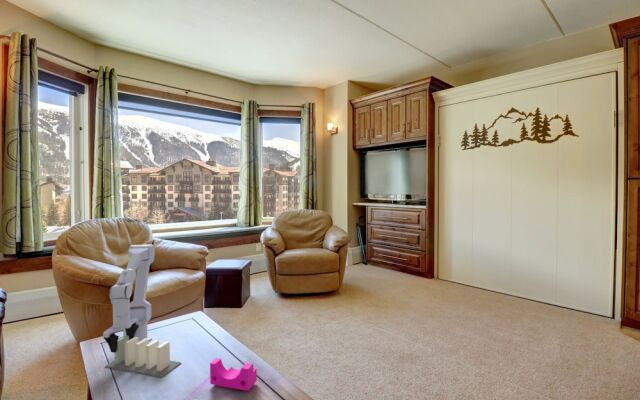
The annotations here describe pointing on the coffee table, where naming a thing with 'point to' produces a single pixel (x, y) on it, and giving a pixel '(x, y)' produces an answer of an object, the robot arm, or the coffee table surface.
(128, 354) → the domino
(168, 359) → the domino
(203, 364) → the coffee table surface
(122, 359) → the sage domino
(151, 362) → the domino
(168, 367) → the mat
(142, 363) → the domino
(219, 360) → the toy block
